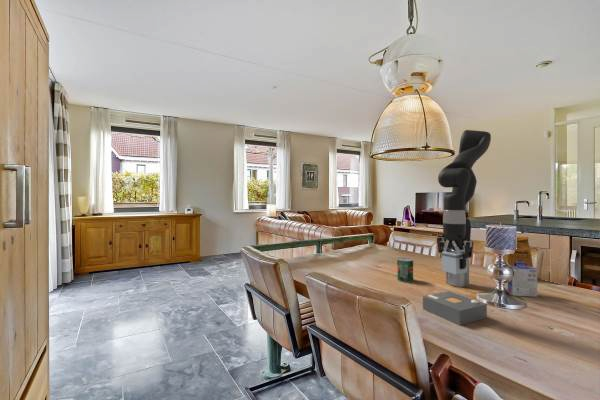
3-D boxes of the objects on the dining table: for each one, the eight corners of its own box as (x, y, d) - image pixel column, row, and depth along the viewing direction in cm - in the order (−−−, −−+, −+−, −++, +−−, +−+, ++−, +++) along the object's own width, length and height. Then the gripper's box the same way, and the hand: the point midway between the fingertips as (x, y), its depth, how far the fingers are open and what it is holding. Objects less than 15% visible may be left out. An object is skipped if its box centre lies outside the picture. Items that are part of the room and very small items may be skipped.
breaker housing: (422, 308, 116) (422, 294, 116) (448, 303, 122) (448, 289, 122) (459, 325, 101) (459, 308, 101) (486, 318, 107) (486, 302, 107)
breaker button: (444, 311, 113) (444, 299, 113) (452, 309, 114) (452, 297, 114) (454, 316, 109) (454, 303, 109) (462, 314, 110) (462, 301, 110)
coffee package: (534, 281, 150) (534, 238, 150) (505, 278, 156) (505, 236, 155) (529, 276, 159) (529, 235, 159) (501, 274, 165) (501, 234, 164)
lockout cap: (441, 270, 113) (441, 252, 112) (452, 268, 115) (452, 250, 115) (455, 274, 107) (455, 254, 107) (467, 272, 110) (467, 253, 109)
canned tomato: (415, 282, 151) (415, 260, 151) (400, 282, 151) (399, 260, 151) (410, 278, 159) (410, 257, 159) (395, 278, 159) (395, 257, 159)
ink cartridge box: (531, 293, 133) (531, 260, 133) (538, 297, 128) (538, 263, 127) (506, 291, 135) (506, 260, 135) (512, 295, 130) (512, 262, 129)
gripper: (479, 223, 106) (479, 270, 106) (444, 220, 119) (445, 262, 119) (464, 224, 103) (464, 272, 103) (431, 221, 116) (431, 264, 116)
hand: (454, 266), depth 111 cm, fingers closed on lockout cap, 6 cm apart
